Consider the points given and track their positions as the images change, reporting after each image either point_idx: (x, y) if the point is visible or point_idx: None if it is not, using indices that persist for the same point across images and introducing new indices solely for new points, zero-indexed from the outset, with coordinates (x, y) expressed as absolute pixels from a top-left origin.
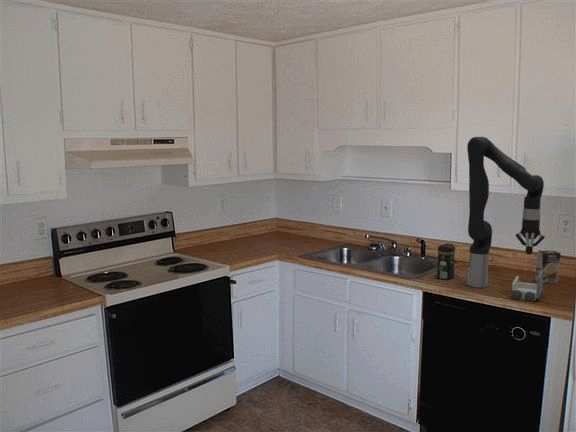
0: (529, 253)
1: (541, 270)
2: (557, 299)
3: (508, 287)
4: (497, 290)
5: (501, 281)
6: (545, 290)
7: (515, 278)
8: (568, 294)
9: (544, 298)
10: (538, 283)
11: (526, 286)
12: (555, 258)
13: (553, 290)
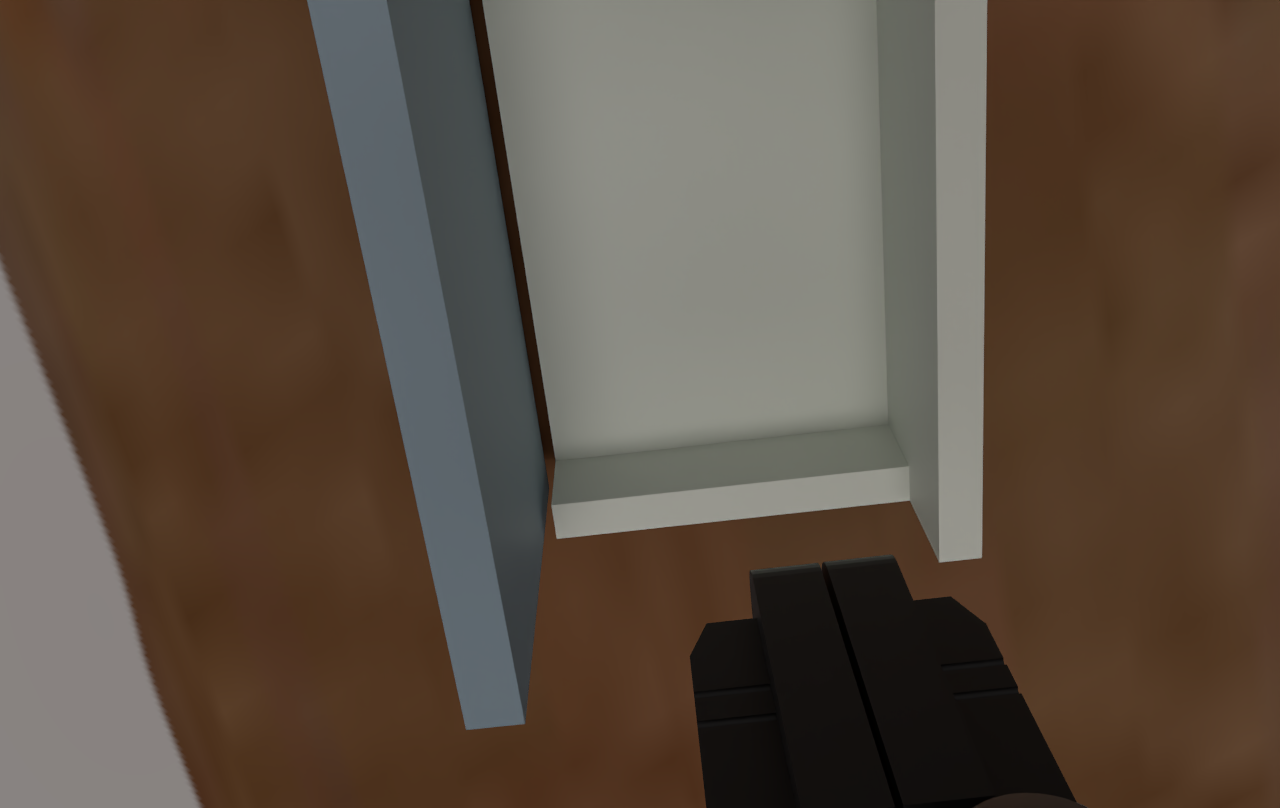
0: (794, 578)
1: (493, 674)
2: (202, 258)
3: (1037, 480)
4: (1195, 195)
5: (1173, 727)
6: None
7: (979, 346)
8: (168, 621)
9: None
10: None
11: (754, 457)
12: None
13: (407, 696)
